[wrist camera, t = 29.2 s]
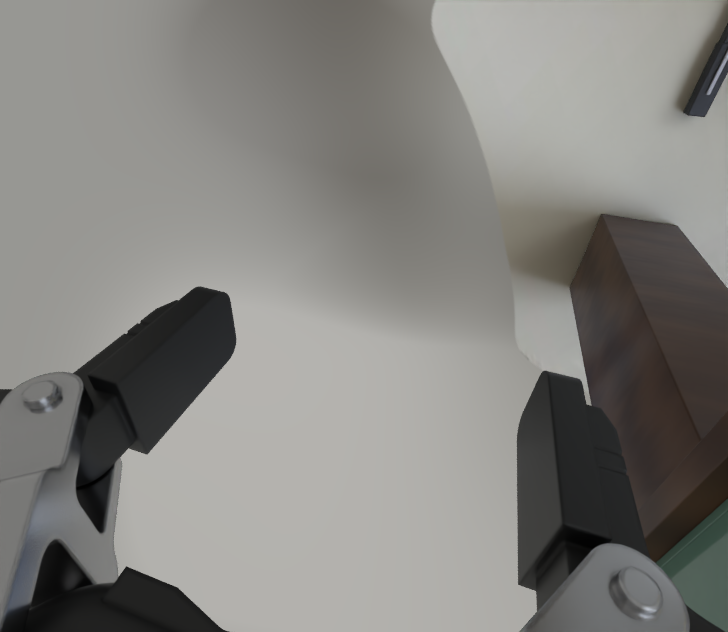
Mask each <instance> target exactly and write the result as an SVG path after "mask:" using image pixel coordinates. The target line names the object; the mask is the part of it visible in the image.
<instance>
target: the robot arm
mask: <svg viewBox="0 0 728 632" xmlns="http://www.w3.org/2000/svg"><path fill="white" fill-rule="evenodd" d="M235 345H236V333H235V327H234V321H233V315H232V308H231V302H230V298H229V296H228V294H226V293H225V292H220V291H217V290H212V289H208V288H204V287H196V288H194V289H193V290H191V291H190V292H189V293H187V294H186V295H185V296H184V297H182V298H181V299H180V300H179V301H178V300H176V301H173V302H171V303H169V304H166V305H164V306H162V307H160V308H157V309H155V310H154V311H153V312H152V313H150V314H149V315H148V316H147V317H145V318H144V319H143V320H141V323H140V324H136V325H135V326H134V327H132V328H131V329H130V330H128V333H127V334H123V335H122V336H121V337H119V338H118V339H117V340H116V341H114V342H113V343H112V344H110V345H109V346H108V347H107V348H105V349H104V350H103V351H101V352H100V353H99V354H98V355H96V356H95V357H94V358H92V359H91V360H90V361H89V362H87V363H86V364H85V365H83V366H82V367H81V368H80V369H78V370H77V371H76V372H74V373H73V374H72V373H67V372H54V373H48V374H44V375H40V376H37V377H34V378H32V379H30V380H28V381H26V382H24V383H22V384H20V385H19V386H17V387H16V388H14V389H13V390H11V389H10V390H9V389H8V390H7V389H5V390H3V389H0V632H228V631H225V630H223V629H221V628H220V627H219V626H218V625H217V624H216V623H215V622H213V621H212V620H211V619H210V618H209V617H208V616H207V615H206V614H205V613H204V612H203V611H202V610H201V609H200V608H199V607H197V606H196V605H195V604H194V603H193V602H192V601H191V600H190V599H189V598H188V597H187V596H186V595H184V593H183V592H182V591H180V590H179V589H178V588H177V587H174V586H172V585H170V584H167V583H165V582H162V581H160V580H158V579H155V578H153V577H150V576H148V575H145V574H143V573H141V572H138V571H136V570H133V569H131V568H129V567H126V568H125V569H124V570H123V572H122V573H121V574H120V576H119V577H118V567H117V560H116V556H115V551H114V531H115V522H116V514H117V505H118V496H119V488H120V479H121V470H122V461H121V459H120V457H121V456H122V454H124V452H125V451H126V450H127V449H128V448H130V449H132V450H136V451H138V452H141V453H144V454H148V453H149V452H150V450H151V449H152V448H153V447H154V446H155V445H156V444H157V443H158V441H159V440H160V439H161V438H162V437H163V436H164V434H165V433H166V432H167V431H168V430H169V429H170V427H171V426H172V425H173V424H174V423H175V422H176V421H177V419H178V418H179V417H180V416H181V415H182V414H183V412H184V411H185V410H186V409H187V408H188V407H189V406H190V404H191V403H192V402H193V401H194V400H195V398H196V397H197V396H198V395H199V394H200V393H201V392H202V390H203V389H204V388H205V387H206V386H207V385H208V384H209V382H210V381H211V380H212V379H213V378H214V377H215V376H216V374H217V373H218V372H219V371H220V369H222V367H223V366H224V365H225V364H226V363H227V362H228V360H229V359H230V358H231V356H232V354H233V352H234V349H235ZM626 472H627V468H626V464H625V460H624V457H623V456H622V449H621V445H620V441H619V437H618V433H617V430H616V428H615V427H614V426H613V424H612V423H611V421H610V420H609V418H608V417H607V416H606V414H605V413H604V411H603V410H602V409H601V408H598V407H594V406H589V405H586V400H585V396H584V390H583V385H582V382H581V380H580V379H577V378H573V377H569V376H565V375H561V374H557V373H553V372H548V371H543V372H542V373H541V375H540V377H539V379H538V381H537V383H536V385H535V388H534V390H533V392H532V394H531V396H530V398H529V400H528V403H527V405H526V407H525V409H524V411H523V414H522V416H521V419H520V423H519V427H518V434H517V491H518V492H517V499H518V500H517V501H518V585H521V586H524V587H526V588H529V589H532V590H535V591H536V594H537V612H536V613H535V615H534V616H533V617H532V618H531V619H530V620H529V621H528V623H527V624H526V625H525V626H524V627H523V628H522V629H521V631H520V632H725V631H723V630H722V629H720V628H719V627H717V626H715V625H714V624H712V623H711V622H709V621H708V620H706V619H704V618H703V617H702V616H700V615H699V614H697V613H696V612H694V611H693V610H692V609H691V608H689V607H688V606H687V605H686V604H685V602H684V600H683V598H682V596H681V594H680V592H679V590H678V589H677V587H676V586H675V584H674V583H673V582H672V580H671V579H670V578H669V577H668V575H667V574H666V573H665V572H664V571H663V570H662V569H661V568H660V567H659V566H658V565H657V564H656V563H654V562H653V561H652V560H651V558H650V555H649V552H648V549H647V545H646V542H645V538H644V534H643V530H642V526H641V522H640V518H639V515H638V511H637V507H636V503H635V499H634V495H633V491H632V487H631V484H630V480H629V476H628V475H626Z"/></svg>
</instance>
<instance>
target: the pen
mask: <svg viewBox="0 0 728 632" xmlns="http://www.w3.org/2000/svg"><path fill="white" fill-rule="evenodd" d="M727 73H728V24H727V26H726V28H725V30H724V32H723V34H722V36H721V38H720V40H719V42H718V43H717V44H716V46H715V48H714V50H713V52H712V54H711V56H710V58H709V60H708V62H707V64H706V66H705V68H704V70H703V72H702V75H701V77H700V79H699V81H698V83H697V85H696V87H695V89H694V91H693V93H692V95H691V97H690V99H689V101H688V103H687V106H686V108H685V110H684V112H683V113H685V114H687V115H691V116H700V117H705V115H706V114H707V112H708V110H709V108H710V106H711V104H712V102H713V100H714V98H715V96H716V94H717V92H718V90H719V88H720V86H721V84H722V82H723V81H724V79H725V77H726V75H727Z"/></svg>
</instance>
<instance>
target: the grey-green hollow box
mask: <svg viewBox="0 0 728 632" xmlns="http://www.w3.org/2000/svg"><path fill="white" fill-rule="evenodd" d="M656 564H657V565H658V566H659V567H660V568H661V569H662V570H663V571H664V572H665V573H666V574H667V575H668V577H669V578H670V579H671V580H672V582H673V583H674V584H675V586H676V587H677V589H678V590H679V592H680V594H681V596H682V598H683V600H684V602H685V604H686V605H687V606H688V607H689V608H691V609H692V610H693V611H694V612H696V613H697V614H699V615H700V616H702V617H703V618H704V619H706V620H708V621H709V622H711V623H712V624H714V625H715V626H717V627H719V628H720V629H722V630H723V631H725V632H728V498H727V499H726V500H725V501H724V502H723V503H722V504H721V505H719V506H718V507H717V508H716V509H715V510H714V511H713V512H712V513H711V514H709V515H708V516H707V517H706V518H705V519H704V520H703V521H702V522H700V523H699V524H698V525H697V526H696V527H695V528H694V529H693V530H691V531H690V532H689V533H688V534H687V535H686V536H685V537H684V538H683V539H681V540H680V541H679V542H678V543H677V544H676V545H675V546H674V547H672V548H671V549H670V550H669V551H668V552H667V553H666V554H665V555H663V556H662V557H661V558H660V559H659V560H658V561H657V562H656Z"/></svg>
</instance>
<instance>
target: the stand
mask: <svg viewBox="0 0 728 632" xmlns="http://www.w3.org/2000/svg"><path fill="white" fill-rule="evenodd" d="M570 292H571V298H572V303H573V308H574V314H575V319H576V324H577V330H578V335H579V340H580V346H581V351H582V356H583V362H584V367H585V372H586V377H587V383H588V388H589V393H590V399H591V404H592V406H594V407H598V408H601V409H602V410H603V411H604V413H605V414H606V416H607V417H608V418H609V420H610V421H611V423H612V424H613V426H614V427H615V428H616V430H617V433H618V437H619V441H620V445H621V449H622V456H623V457H624V460H625V464H626V468H627V472H626V475H628V476H629V480H630V484H631V487H632V491H633V495H634V499H635V503H636V507H637V511H638V515H639V518H640V522H641V526H642V530H643V534H644V538H645V542H646V545H647V549H648V552H649V555H650V558H651V560H652V561H653V562H654V563H656V562H657V561H658V560H659V559H660V558H661V557H662V556H663V555H665V554H666V553H667V552H668V551H669V550H670V549H671V548H672V547H674V546H675V545H676V544H677V543H678V542H679V541H680V540H681V539H683V538H684V537H685V536H686V535H687V534H688V533H689V532H690V531H691V530H693V529H694V528H695V527H696V526H697V525H698V524H699V523H700V522H702V521H703V520H704V519H705V518H706V517H707V516H708V515H709V514H711V513H712V512H713V511H714V510H715V509H716V508H717V507H718V506H719V505H721V504H722V503H723V502H724V501H725V500H726V499H727V498H728V288H727V287H726V286H725V285H724V283H723V282H722V281H721V280H720V278H719V277H718V276H717V275H716V273H715V272H714V271H713V270H712V268H711V267H710V266H709V265H708V263H707V262H706V261H705V260H704V258H703V257H702V256H701V255H700V253H699V252H698V251H697V250H696V248H695V247H694V246H693V245H692V243H691V242H690V241H689V240H688V238H687V237H686V236H685V235H684V233H683V232H682V231H681V230H680V228H679V227H678V226H674V225H668V224H662V223H655V222H649V221H643V220H637V219H630V218H624V217H618V216H611V215H605V214H601V216H600V218H599V221H598V223H597V225H596V228H595V230H594V232H593V235H592V237H591V239H590V242H589V244H588V246H587V249H586V251H585V253H584V256H583V258H582V260H581V263H580V265H579V267H578V270H577V272H576V274H575V277H574V279H573V281H572V284H571V286H570Z"/></svg>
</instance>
